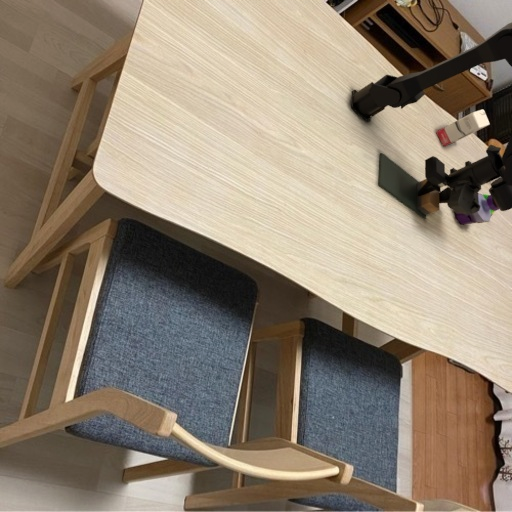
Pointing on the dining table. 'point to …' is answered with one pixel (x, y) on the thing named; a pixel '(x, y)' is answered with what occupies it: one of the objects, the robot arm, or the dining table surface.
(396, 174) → the chalkboard
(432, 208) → the brown rectangular block
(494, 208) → the potion bottle
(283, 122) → the dining table surface
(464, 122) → the ink box
